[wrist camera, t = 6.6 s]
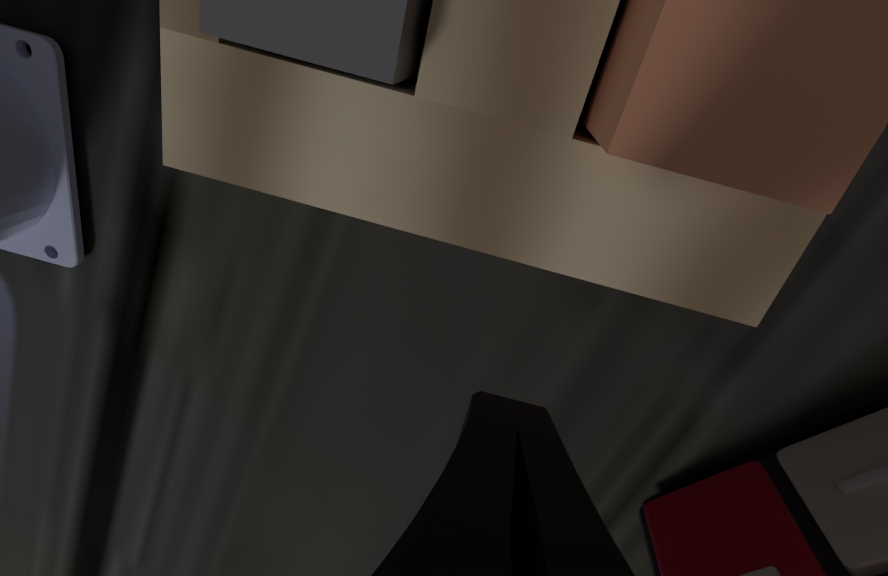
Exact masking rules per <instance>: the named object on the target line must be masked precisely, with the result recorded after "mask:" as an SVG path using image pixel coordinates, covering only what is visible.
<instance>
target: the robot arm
mask: <svg viewBox="0 0 888 576" xmlns="http://www.w3.org/2000/svg"><path fill="white" fill-rule="evenodd" d="M27 43H28V44H29V46H30V47H31V50H32V55H30V53H29V52H28V50H27V47H26V46H27ZM54 248H55V249H56V250H57V252H58V253H57V252H56V251H55V250H54ZM0 249H3V250H7V251H10V252H14V253H18V254H21V255H25V256H29V257H32V258H36V259H39V260H43V261H47V262H50V263H54V264H58V265H61V266H65V267H74V266H76V265H78V264H80V263H82V261H83V260H84V249H83V239H82V229H81V220H80V210H79V200H78V191H77V181H76V171H75V162H74V152H73V142H72V133H71V123H70V113H69V104H68V94H67V84H66V75H65V65H64V57H63V53H62V50H61V48H60V47H59V45H58V44H57V43H56V42H55V41H54V40H53V39H52V38H50V37H48V36H45V35H41V34H37V33H34V32H30V31H26V30H23V29H19V28H15V27H12V26H8V25H4V24H1V23H0ZM371 576H635V575H634V573H633V572H632V570H631V569H630V567H629V565H628V564H627V562H626V560H625V559H624V557H623V555H622V554H621V552H620V550H619V549H618V547H617V545H616V544H615V542H614V540H613V538H612V537H611V535H610V533H609V531H608V530H607V528H606V526H605V524H604V523H603V521H602V519H601V517H600V515H599V513H598V512H597V510H596V508H595V506H594V504H593V502H592V500H591V498H590V497H589V495H588V493H587V491H586V489H585V487H584V485H583V483H582V481H581V479H580V478H579V476H578V474H577V472H576V470H575V468H574V466H573V463H572V461H571V459H570V457H569V455H568V453H567V451H566V449H565V447H564V445H563V443H562V441H561V438H560V436H559V434H558V432H557V430H556V428H555V425H554V423H553V421H552V419H551V417H550V415H549V413H548V411H547V409H546V408H544V407H540V406H536V405H533V404H529V403H525V402H521V401H517V400H513V399H509V398H505V397H501V396H498V395H494V394H490V393H486V392H482V391H479V392H477V393H475V394H473V395H472V398H471V401H470V405H469V408H468V411H467V414H466V417H465V421H464V424H463V427H462V430H461V434H460V437H459V440H458V443H457V446H456V448H455V450H454V451H453V453H452V455H451V457H450V459H449V461H448V463H447V465H446V467H445V469H444V471H443V473H442V474H441V476H440V478H439V479H438V481H437V483H436V484H435V486H434V487H433V489H432V491H431V492H430V494H429V495H428V497H427V499H426V500H425V502H424V503H423V505H422V507H421V508H420V510H419V511H418V513H417V514H416V516H415V517H414V519H413V520H412V522H411V523H410V525H409V526H408V528H407V529H406V530H405V532H404V533H403V535H402V536H401V537H400V539H399V540H398V541H397V543H396V544H395V546H394V547H393V548H392V550H391V551H390V552H389V554H388V555H387V556H386V558H385V559H384V560H383V562H382V563H381V564H380V565H379V567H378V568H377V569H376V570H375V572H374V573H373V574H372V575H371Z"/></svg>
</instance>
